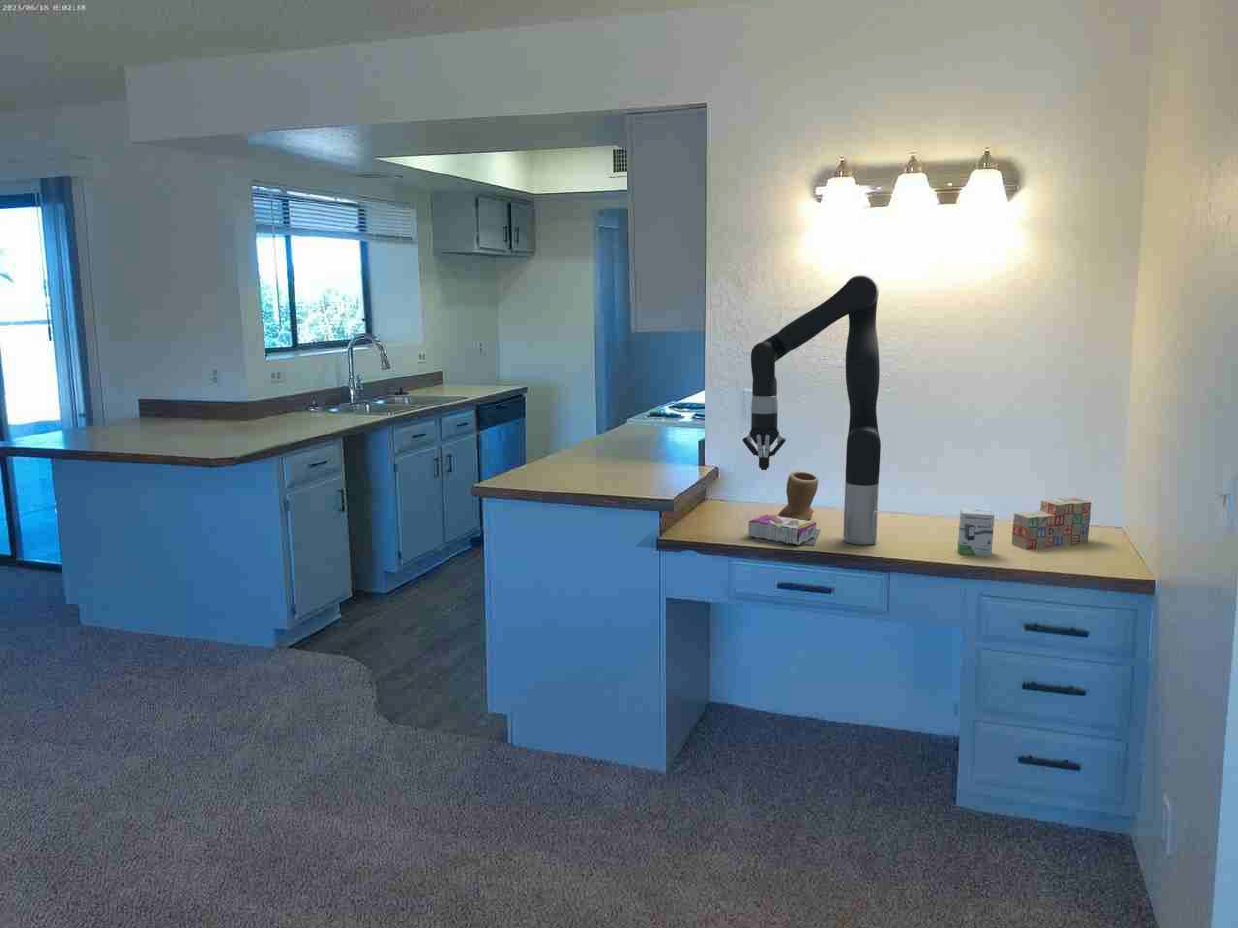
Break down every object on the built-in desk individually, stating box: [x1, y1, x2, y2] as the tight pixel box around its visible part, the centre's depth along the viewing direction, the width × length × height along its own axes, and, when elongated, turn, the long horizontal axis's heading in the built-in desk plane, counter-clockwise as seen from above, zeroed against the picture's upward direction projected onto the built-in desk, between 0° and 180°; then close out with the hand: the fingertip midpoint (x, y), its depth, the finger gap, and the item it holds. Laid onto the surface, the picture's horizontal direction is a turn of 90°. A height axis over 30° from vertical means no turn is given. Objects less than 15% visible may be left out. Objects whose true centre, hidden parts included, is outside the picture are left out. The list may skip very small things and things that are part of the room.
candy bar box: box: [748, 514, 817, 546], centre depth 282 cm, size 11×5×16 cm
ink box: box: [957, 508, 995, 557], centre depth 266 cm, size 9×5×12 cm, turn 75°
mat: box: [753, 528, 821, 547], centre depth 286 cm, size 17×18×1 cm
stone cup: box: [777, 470, 819, 521], centre depth 305 cm, size 15×12×15 cm
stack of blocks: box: [1011, 497, 1092, 550], centre depth 275 cm, size 21×6×12 cm, turn 108°
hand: (763, 469), depth 284 cm, fingers closed
